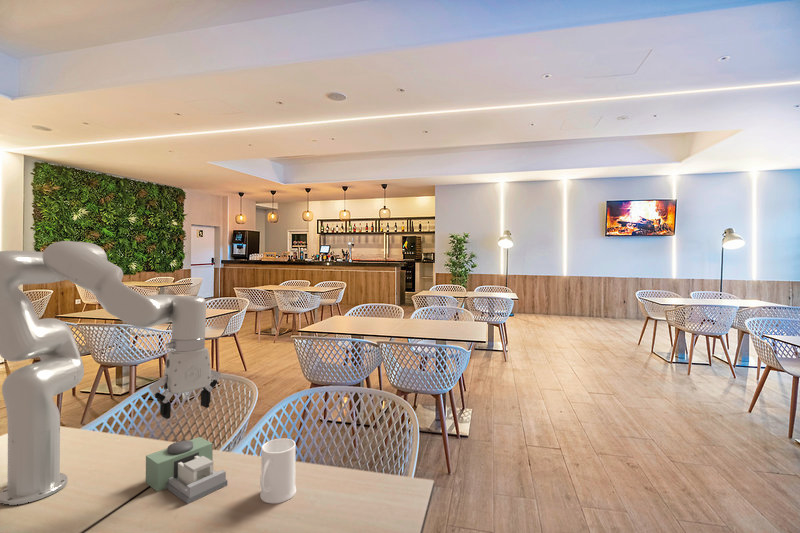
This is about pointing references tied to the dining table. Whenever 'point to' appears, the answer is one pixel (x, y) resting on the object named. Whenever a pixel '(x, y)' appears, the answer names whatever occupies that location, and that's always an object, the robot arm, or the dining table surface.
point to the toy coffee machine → (166, 470)
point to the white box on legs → (194, 470)
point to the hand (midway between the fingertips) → (186, 411)
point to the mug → (278, 471)
